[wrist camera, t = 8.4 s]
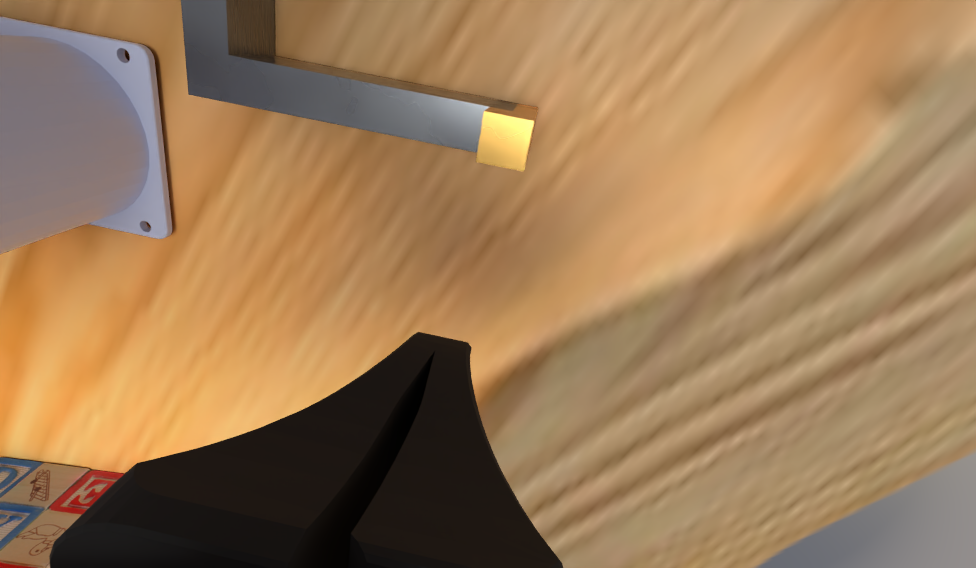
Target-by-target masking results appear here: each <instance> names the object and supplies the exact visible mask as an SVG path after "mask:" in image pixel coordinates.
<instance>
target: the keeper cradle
mask: <svg viewBox="0 0 976 568" xmlns="http://www.w3.org/2000/svg"><path fill="white" fill-rule="evenodd" d="M181 6H182V19H183V31H184V44H185V56H186V69H187V81H188V93H189V95H194V96H199V97H204V98H209V99H214V100H219V101H224V102H229V103H234V104H239V105H244V106H248V107H253V108H258V109H263V110H268V111H273V112H278V113H283V114H288V115H293V116H298V117H303V118H308V119H313V120H318V121H323V122H328V123H333V124H338V125H343V126H348V127H353V128H358V129H363V130H368V131H373V132H378V133H383V134H388V135H393V136H398V137H402V138H407V139H412V140H417V141H422V142H427V143H432V144H437V145H442V146H447V147H452V148H457V149H462V150H467V151H472V152H477V157H476V162H479V163H484V164H489V165H494V166H499V167H504V168H508V169H513V170H518V171H523V172H524V168H525V165H526V161H527V157H528V153H529V149H530V145H531V140H532V135H533V130H534V126H535V121H536V116H537V111H538V108H537V107H532V106H527V105H522V104H517V103H512V102H507V101H502V100H497V99H492V98H487V97H482V96H476V95H471V94H466V93H461V92H456V91H451V90H446V89H441V88H436V87H431V86H426V85H421V84H416V83H411V82H405V81H400V80H395V79H390V78H385V77H380V76H375V75H370V74H365V73H360V72H355V71H350V70H345V69H340V68H334V67H329V66H324V65H319V64H314V63H309V62H304V61H299V60H294V59H289V58H284V57H279V56H275V1H274V0H181Z"/></svg>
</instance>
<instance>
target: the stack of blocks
mask: <svg viewBox="0 0 976 568" xmlns="http://www.w3.org/2000/svg"><path fill="white" fill-rule="evenodd" d="M123 475H124V474H122V473H114V472H106V471H98V470H93V471H91V470H90V469H88V468H81V467H73V466H65V465H58V464H50V463H42V462H37V461H29V460H20V459H11V458H4V457H0V568H50V559H49V556H50V553H51V550H52V547H53V544H54V541H56V540H57V539H58V538H59V537H60V536H61V535H62V534H63V533H64V532H65V531H66V530H67V529H68V528H69V527H70V526H71V525H72V524H73V523H74V522H75V521H76V520H77V519H78V518H79V517H80V516H81V515H82V514H83V513H84V512H85V511H86V510H87V509H88V508H89V507H90V506H91V505H92V504H93V503H94V502H95V501H96V500H97V499H98V498H99V497H100V496H101V495H102V494H103V493H104V492H105V491H106V490H107V489H108V488H110V487H111V486H112V485H113V484H114V483H115V482H116V481H117V480H118V479H119V478H121V477H122V476H123Z"/></svg>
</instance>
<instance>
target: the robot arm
mask: <svg viewBox="0 0 976 568" xmlns="http://www.w3.org/2000/svg"><path fill="white" fill-rule="evenodd" d="M125 50H127V52H128V53H129V56H130V60H129V61H128V60H127V59H126V57H125ZM146 222H148V223H149V224H150V226H151V228H149V227H148V226H147V223H146ZM85 224H91V225H95V226H100V227H105V228H109V229H114V230H119V231H123V232H128V233H133V234H138V235H142V236H147V237H152V238H156V239H163V238H165V237H168V236H170V235H171V233H172V220H171V211H170V201H169V192H168V182H167V173H166V163H165V154H164V144H163V135H162V125H161V116H160V106H159V97H158V87H157V78H156V68H155V60H154V56H153V54H152V52H151V51H150V49H149V48H147V47H146V46H145V45H142V44H139V43H133V42H128V41H123V40H118V39H113V38H108V37H103V36H98V35H93V34H88V33H83V32H78V31H73V30H68V29H63V28H58V27H53V26H48V25H43V24H38V23H33V22H28V21H23V20H17V19H12V18H7V17H2V16H0V254H2V253H5V252H8V251H11V250H14V249H16V248H19V247H22V246H25V245H28V244H31V243H33V242H36V241H39V240H42V239H45V238H48V237H51V236H53V235H56V234H59V233H62V232H65V231H68V230H70V229H73V228H76V227H79V226H82V225H85ZM470 353H471V346H470V345H469V344H468V343H467V342H463V341H458V340H453V339H449V338H444V337H439V336H435V335H430V334H425V333H421V332H418V333H416V334H414V335H413V336H412V337H410V338H409V339H408V340H407V341H406V342H405V343H403V344H402V345H401V346H400V347H399V348H397V349H396V350H395V351H394V352H392V353H391V354H390V355H389V356H387V357H386V358H385V359H383V360H382V361H381V362H379V363H378V364H377V365H375V366H374V367H373V368H371V369H370V370H368V371H367V372H366V373H364V374H363V375H361V376H360V377H358V378H357V379H355V380H354V381H352V382H350V383H349V384H347V385H346V386H344V387H343V388H341V389H340V390H338V391H336V392H335V393H333V394H331V395H330V396H328V397H326V398H324V399H322V400H321V401H319V402H317V403H315V404H313V405H311V406H309V407H307V408H305V409H303V410H301V411H299V412H297V413H294V414H292V415H289V416H287V417H285V418H282V419H280V420H278V421H275V422H273V423H271V424H268V425H266V426H263V427H261V428H258V429H256V430H253V431H250V432H247V433H244V434H242V435H239V436H236V437H233V438H230V439H227V440H223V441H220V442H217V443H214V444H211V445H207V446H204V447H200V448H197V449H193V450H189V451H185V452H181V453H177V454H173V455H169V456H165V457H161V458H157V459H153V460H149V461H145V462H140V463H137V464H136V465H134V466H133V467H132V468H131V469H130V470H129V471H128V472H126V473H125V474H124V475H123V476H122V477H121V478H119V479H118V480H117V481H116V482H115V483H114V484H113V485H112V486H111V487H110V488H108V489H107V490H106V491H105V492H104V493H103V494H102V495H101V496H100V497H99V498H98V499H97V500H96V501H95V502H94V503H93V504H92V505H91V506H90V507H89V508H88V509H87V510H86V511H85V512H84V513H83V514H82V515H81V516H80V517H79V518H78V519H77V520H76V521H75V522H74V523H73V524H72V525H71V526H70V527H69V528H68V529H67V530H66V531H65V532H64V533H63V534H62V535H61V536H60V537H59V538H58V539H57V540H56V541H54V544H53V547H52V550H51V553H50V556H49V559H50V568H563V566H562V563H561V561H560V560H559V559H558V557H557V556H556V555H555V554H554V552H553V551H552V550H551V548H550V547H549V546H548V545H547V543H546V542H545V541H544V539H543V538H542V537H541V535H540V534H539V533H538V531H537V530H536V528H535V527H534V525H533V524H532V522H531V521H530V519H529V518H528V516H527V515H526V513H525V512H524V510H523V509H522V507H521V505H520V504H519V502H518V500H517V498H516V496H515V495H514V493H513V491H512V489H511V488H510V486H509V484H508V482H507V480H506V479H505V477H504V475H503V473H502V471H501V469H500V467H499V465H498V462H497V460H496V458H495V456H494V454H493V451H492V449H491V446H490V444H489V441H488V439H487V436H486V433H485V430H484V427H483V425H482V421H481V418H480V415H479V411H478V407H477V403H476V399H475V395H474V390H473V385H472V379H471V370H470Z"/></svg>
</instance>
